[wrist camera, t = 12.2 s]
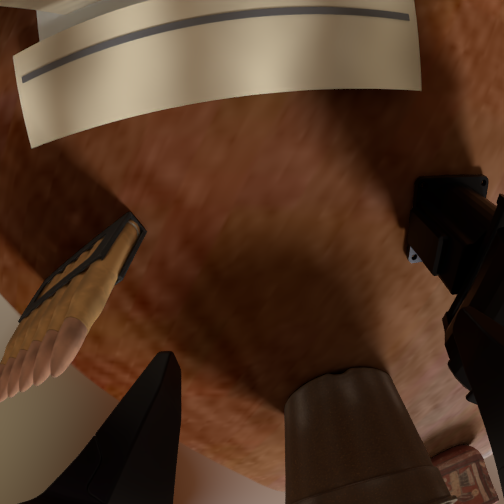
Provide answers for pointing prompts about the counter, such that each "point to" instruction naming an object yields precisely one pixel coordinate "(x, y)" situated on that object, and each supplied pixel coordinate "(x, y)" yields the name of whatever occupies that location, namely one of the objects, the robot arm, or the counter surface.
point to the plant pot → (356, 445)
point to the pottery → (466, 475)
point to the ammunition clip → (68, 308)
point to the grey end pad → (77, 16)
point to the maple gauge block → (49, 5)
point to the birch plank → (211, 57)
